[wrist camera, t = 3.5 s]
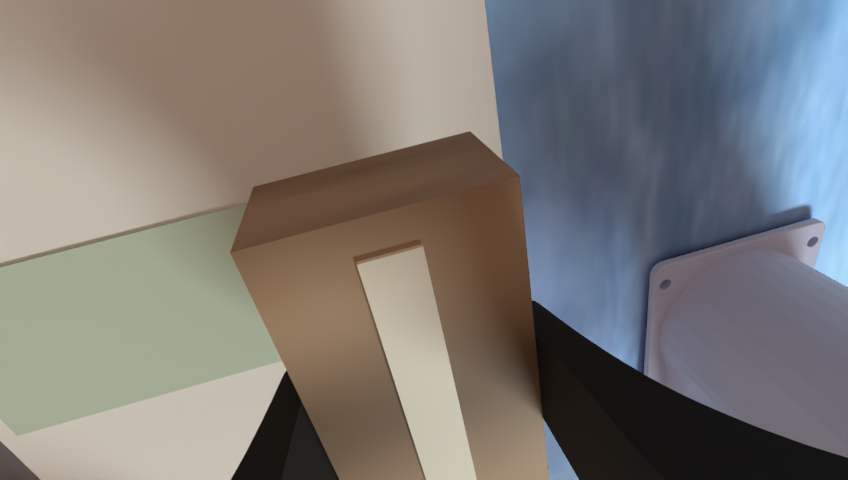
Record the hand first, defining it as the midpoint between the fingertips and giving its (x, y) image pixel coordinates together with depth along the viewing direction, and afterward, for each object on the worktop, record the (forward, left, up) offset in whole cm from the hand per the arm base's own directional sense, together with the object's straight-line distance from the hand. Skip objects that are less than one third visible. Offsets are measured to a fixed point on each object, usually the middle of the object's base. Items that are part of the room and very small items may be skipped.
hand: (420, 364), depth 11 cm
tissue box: (0, 0, -2) cm, 2 cm away
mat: (0, +6, -6) cm, 8 cm away
